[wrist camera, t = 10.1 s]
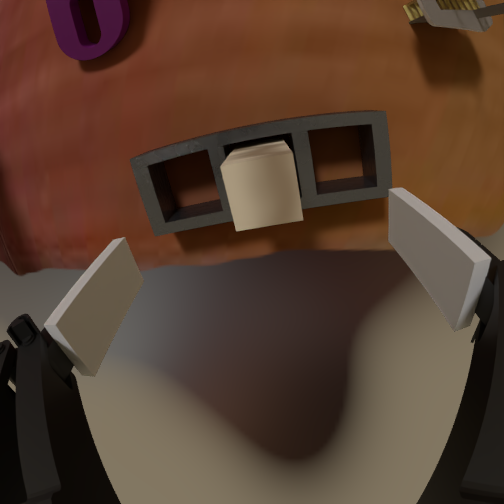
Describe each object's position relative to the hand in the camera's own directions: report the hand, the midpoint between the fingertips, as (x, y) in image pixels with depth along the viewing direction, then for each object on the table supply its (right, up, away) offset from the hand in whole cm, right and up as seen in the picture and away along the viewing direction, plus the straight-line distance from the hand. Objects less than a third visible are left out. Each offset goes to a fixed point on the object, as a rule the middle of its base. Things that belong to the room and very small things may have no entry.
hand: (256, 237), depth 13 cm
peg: (+1, +9, +17) cm, 19 cm away
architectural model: (+22, +29, +6) cm, 37 cm away
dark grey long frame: (+1, +9, +17) cm, 19 cm away
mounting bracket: (-19, +31, +6) cm, 37 cm away
